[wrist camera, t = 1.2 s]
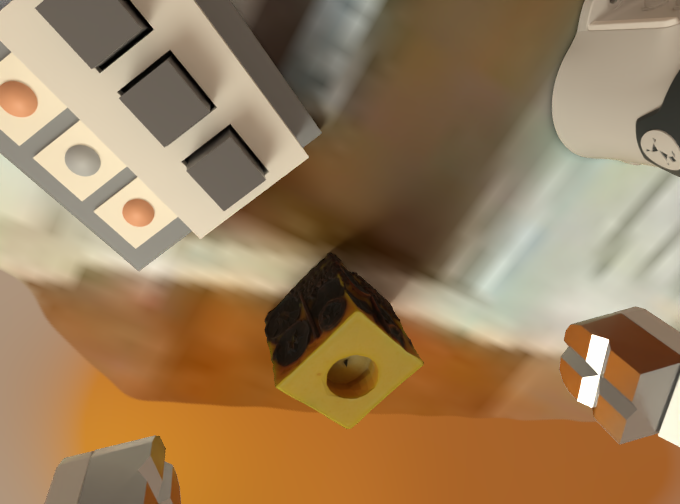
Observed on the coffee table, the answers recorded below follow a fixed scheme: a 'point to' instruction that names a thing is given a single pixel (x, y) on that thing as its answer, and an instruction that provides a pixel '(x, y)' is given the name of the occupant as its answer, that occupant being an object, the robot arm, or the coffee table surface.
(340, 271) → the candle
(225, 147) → the switch
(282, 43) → the coffee table surface
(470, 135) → the coffee table surface
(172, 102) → the switch
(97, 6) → the switch
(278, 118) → the switch unit
